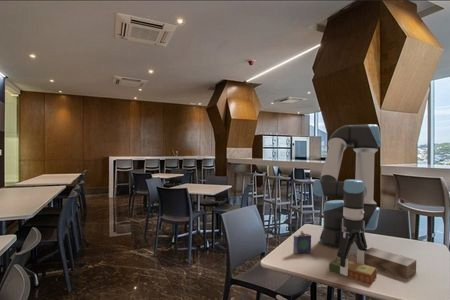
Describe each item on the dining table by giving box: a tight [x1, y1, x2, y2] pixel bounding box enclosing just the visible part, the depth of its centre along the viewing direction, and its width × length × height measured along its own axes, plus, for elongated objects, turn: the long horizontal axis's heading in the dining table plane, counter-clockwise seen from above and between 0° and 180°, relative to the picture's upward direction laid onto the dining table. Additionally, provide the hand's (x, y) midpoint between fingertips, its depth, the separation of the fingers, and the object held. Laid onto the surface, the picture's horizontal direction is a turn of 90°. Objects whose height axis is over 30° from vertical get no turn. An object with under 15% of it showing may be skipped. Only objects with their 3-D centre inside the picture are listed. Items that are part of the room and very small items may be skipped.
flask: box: [292, 230, 312, 256], centre depth 133 cm, size 9×3×11 cm, turn 105°
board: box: [342, 219, 366, 257], centre depth 133 cm, size 5×10×16 cm, turn 64°
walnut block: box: [364, 247, 417, 279], centre depth 118 cm, size 18×10×5 cm, turn 38°
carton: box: [328, 256, 378, 285], centre depth 111 cm, size 8×16×4 cm, turn 49°
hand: (352, 270), depth 111 cm, fingers open, 13 cm apart
